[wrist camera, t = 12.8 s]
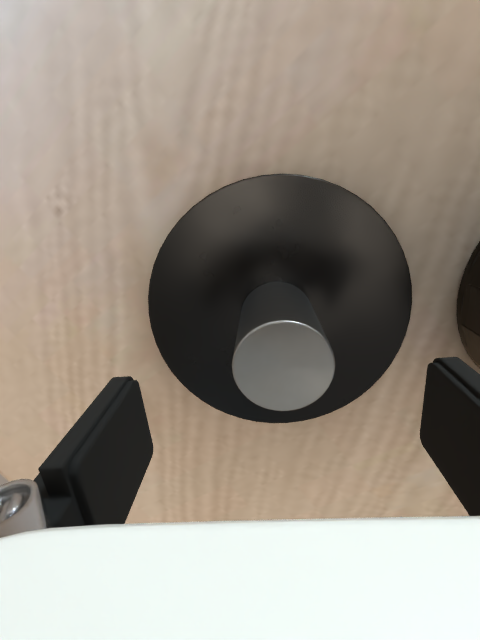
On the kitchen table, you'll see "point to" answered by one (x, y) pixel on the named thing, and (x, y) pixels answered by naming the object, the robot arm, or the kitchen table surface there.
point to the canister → (470, 307)
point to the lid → (280, 298)
